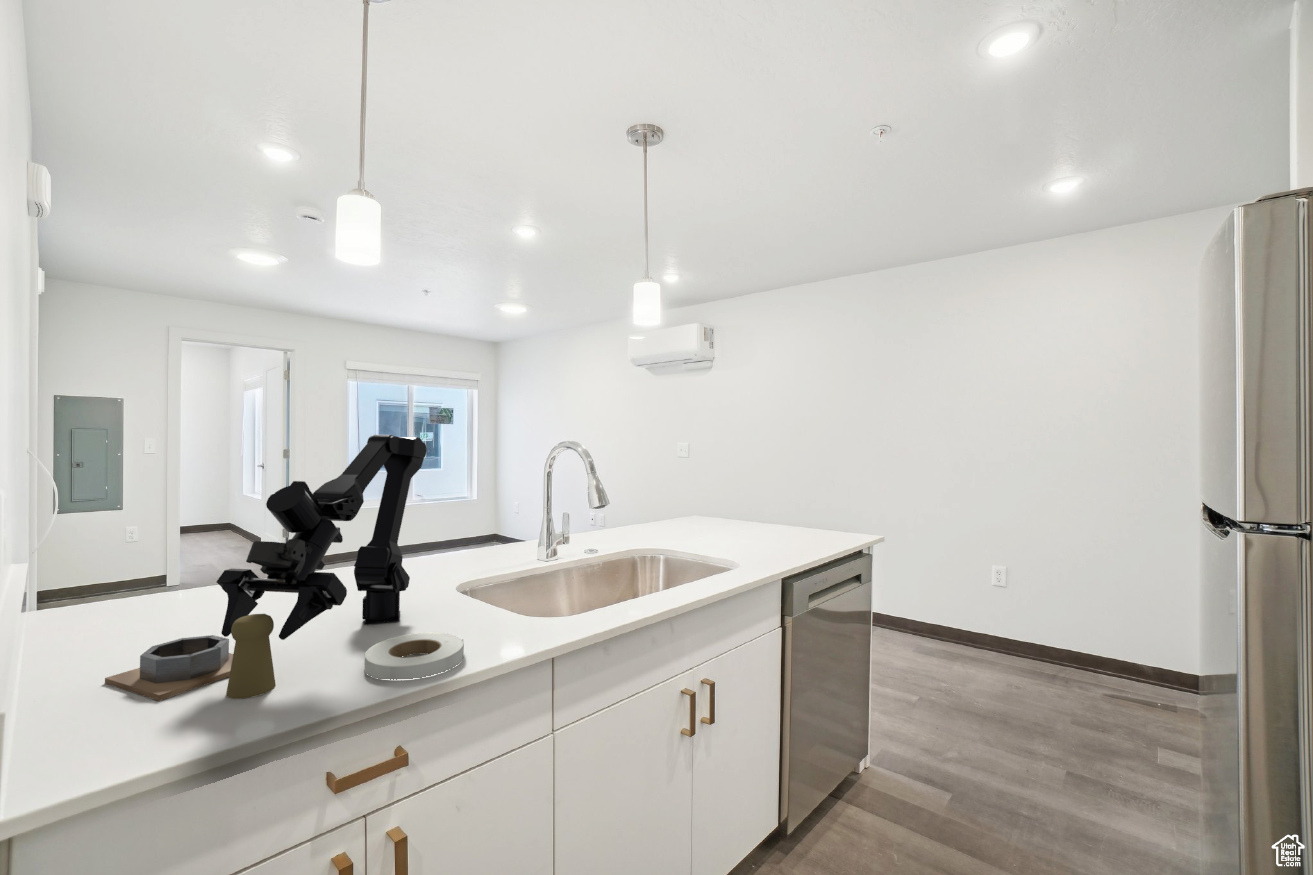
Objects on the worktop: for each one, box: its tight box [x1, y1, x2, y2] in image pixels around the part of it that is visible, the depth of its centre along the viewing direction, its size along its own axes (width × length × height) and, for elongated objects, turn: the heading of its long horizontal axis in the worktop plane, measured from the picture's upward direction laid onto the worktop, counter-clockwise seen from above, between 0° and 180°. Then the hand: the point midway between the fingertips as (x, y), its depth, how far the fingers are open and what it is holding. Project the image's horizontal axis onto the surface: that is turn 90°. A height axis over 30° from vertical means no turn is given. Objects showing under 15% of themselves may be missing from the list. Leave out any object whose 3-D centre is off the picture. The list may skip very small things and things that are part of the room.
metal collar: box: [139, 634, 230, 684], centre depth 90 cm, size 10×10×4 cm
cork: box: [226, 613, 277, 700], centre depth 85 cm, size 6×6×11 cm
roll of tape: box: [364, 631, 465, 680], centre depth 96 cm, size 16×15×3 cm
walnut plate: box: [104, 652, 233, 702], centre depth 90 cm, size 14×14×1 cm
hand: (252, 636), depth 85 cm, fingers open, 9 cm apart
